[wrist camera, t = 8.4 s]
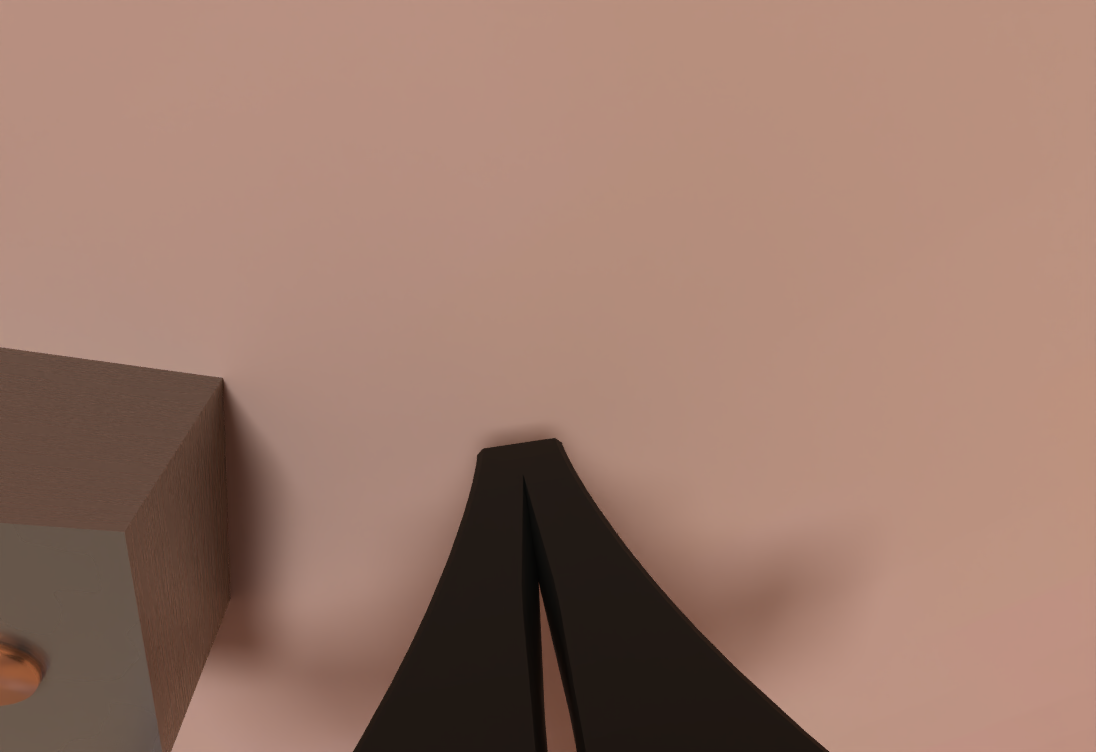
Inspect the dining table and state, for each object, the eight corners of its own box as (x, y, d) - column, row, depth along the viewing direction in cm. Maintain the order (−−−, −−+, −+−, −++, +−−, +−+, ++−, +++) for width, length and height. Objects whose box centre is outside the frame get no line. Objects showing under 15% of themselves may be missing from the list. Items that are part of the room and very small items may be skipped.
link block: (232, 591, 13) (160, 777, 10) (21, 581, 12) (-135, 784, 9) (226, 372, 10) (118, 541, 7) (-62, 332, 9) (-349, 509, 6)
